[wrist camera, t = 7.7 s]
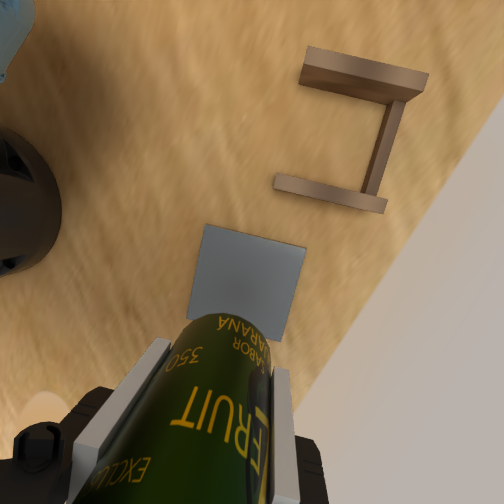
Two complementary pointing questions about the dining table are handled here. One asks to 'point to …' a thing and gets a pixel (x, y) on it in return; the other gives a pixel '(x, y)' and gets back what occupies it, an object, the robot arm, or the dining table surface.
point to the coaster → (246, 279)
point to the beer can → (195, 424)
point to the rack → (368, 88)
